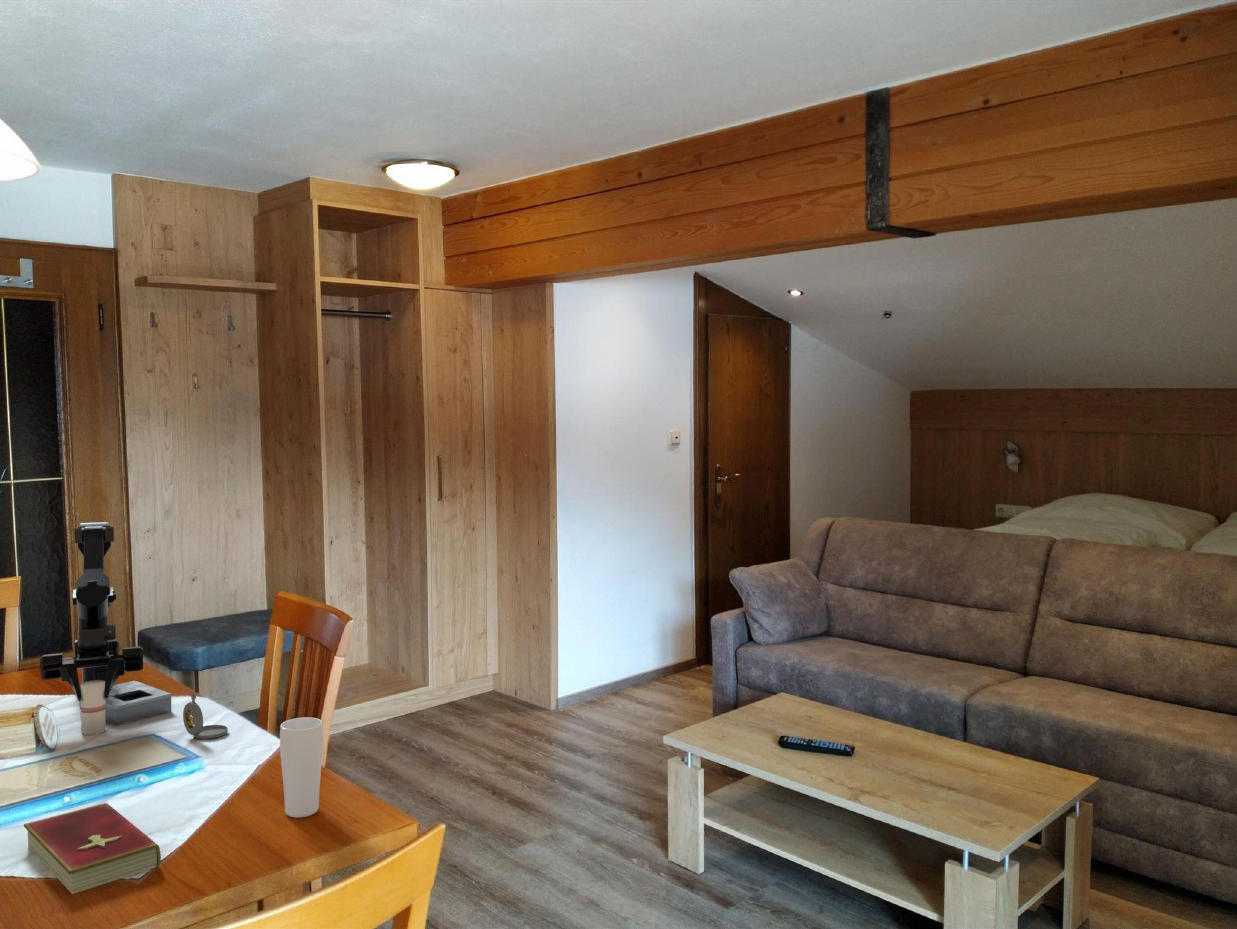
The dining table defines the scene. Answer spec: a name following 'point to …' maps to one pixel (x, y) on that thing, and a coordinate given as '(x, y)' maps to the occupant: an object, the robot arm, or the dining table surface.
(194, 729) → the pocket watch
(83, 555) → the robot arm
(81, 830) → the hardcover book
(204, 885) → the dining table surface
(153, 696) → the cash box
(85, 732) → the coin roll
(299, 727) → the drinking glass
